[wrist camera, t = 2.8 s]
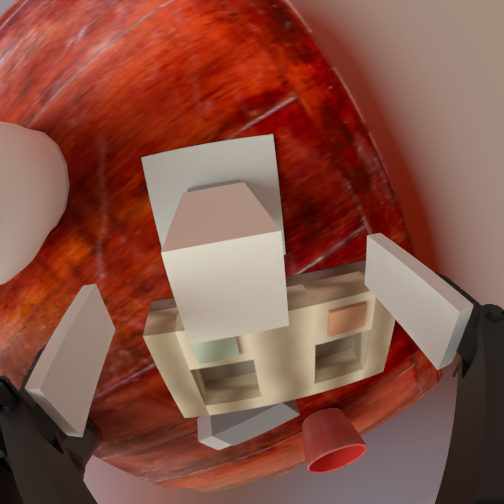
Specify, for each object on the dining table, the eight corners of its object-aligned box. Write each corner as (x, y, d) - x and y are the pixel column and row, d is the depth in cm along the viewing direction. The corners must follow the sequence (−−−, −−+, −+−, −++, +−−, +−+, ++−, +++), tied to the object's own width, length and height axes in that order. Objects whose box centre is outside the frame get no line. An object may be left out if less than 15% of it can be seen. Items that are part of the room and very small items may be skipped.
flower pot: (286, 436, 45) (298, 477, 37) (305, 404, 41) (323, 451, 33) (334, 430, 48) (349, 467, 39) (357, 398, 44) (378, 439, 35)
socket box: (185, 383, 35) (184, 421, 30) (151, 301, 30) (141, 339, 24) (364, 344, 38) (384, 374, 32) (374, 258, 32) (404, 284, 26)
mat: (170, 272, 29) (169, 275, 28) (142, 157, 24) (141, 157, 23) (284, 252, 30) (285, 254, 29) (271, 134, 25) (273, 134, 24)
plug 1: (195, 237, 27) (189, 344, 13) (185, 186, 25) (161, 252, 11) (247, 227, 27) (289, 325, 14) (239, 176, 25) (281, 230, 12)
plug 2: (216, 427, 41) (219, 451, 37) (196, 416, 39) (197, 442, 35) (291, 389, 39) (300, 414, 35) (273, 375, 37) (281, 402, 33)
